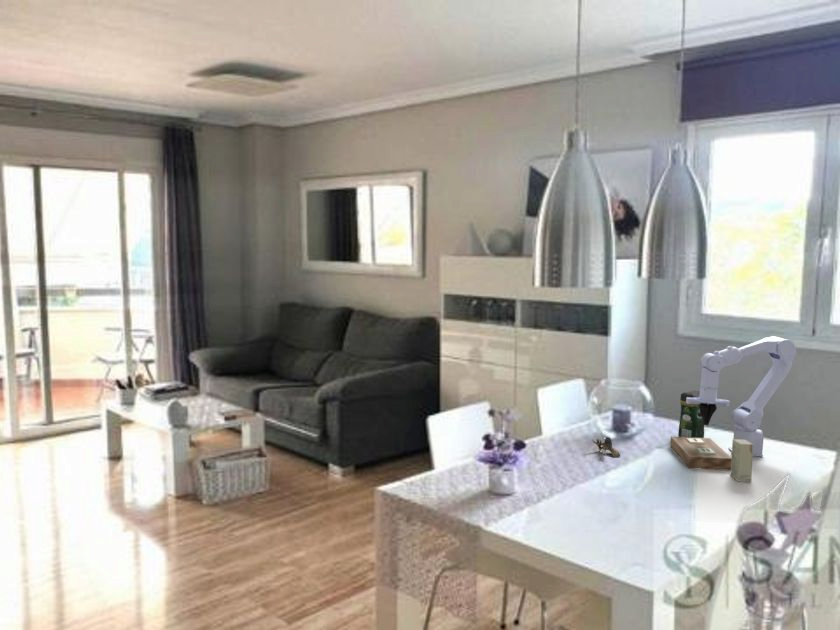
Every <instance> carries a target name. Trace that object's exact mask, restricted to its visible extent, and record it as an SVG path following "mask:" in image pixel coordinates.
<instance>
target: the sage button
mask: <svg viewBox="0 0 840 630" xmlns="http://www.w3.org/2000/svg"><path fill="white" fill-rule="evenodd" d="M696 451H697V452H698V453H699V454H706V455H715V452H714V451H713V450H712V449H710V448H696Z"/></svg>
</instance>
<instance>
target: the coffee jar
mask: <svg viewBox="0 0 840 630" xmlns="http://www.w3.org/2000/svg"><path fill="white" fill-rule="evenodd" d="M686 397H689V398H694V397H700V390H691V391H685V392H682V393H681V394H680V400H679V402H680V416H679V426H678V432H677V434H678V435H677V437H694V438H705V425H704V424H703V420H702V415H701V411H700V408H699V406H698V404H687V403H686Z"/></svg>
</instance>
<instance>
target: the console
mask: <svg viewBox="0 0 840 630" xmlns="http://www.w3.org/2000/svg"><path fill="white" fill-rule="evenodd" d="M686 438H694V437H678V436H670V442H669V447H670V449H671V450H672V451H673V452H674V453H675V455H677V457H678V458H679V459H680V460H681V461H682V462H683V464H684V465H685V466H686V467H687V469H695V468H701V469H702V470H716V471H717V470H718V471H719V470H721V471H731V460H732V456H730V455H729V454H728V453H727V452H726V451H725V450H724V449H723V448H722V447H720V446H719V444H717V443H716V442H715V441H714V440H713V439H712V438H710V437H704V438H697V439H701V440H702V441H703V442H704V445H703V444H689V443H688V442H687V441H686ZM696 448H710V449H712V450H713V451H714V452H715V455H706V454H699V453H698V452H697V451H696ZM701 469H700V470H701Z"/></svg>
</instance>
